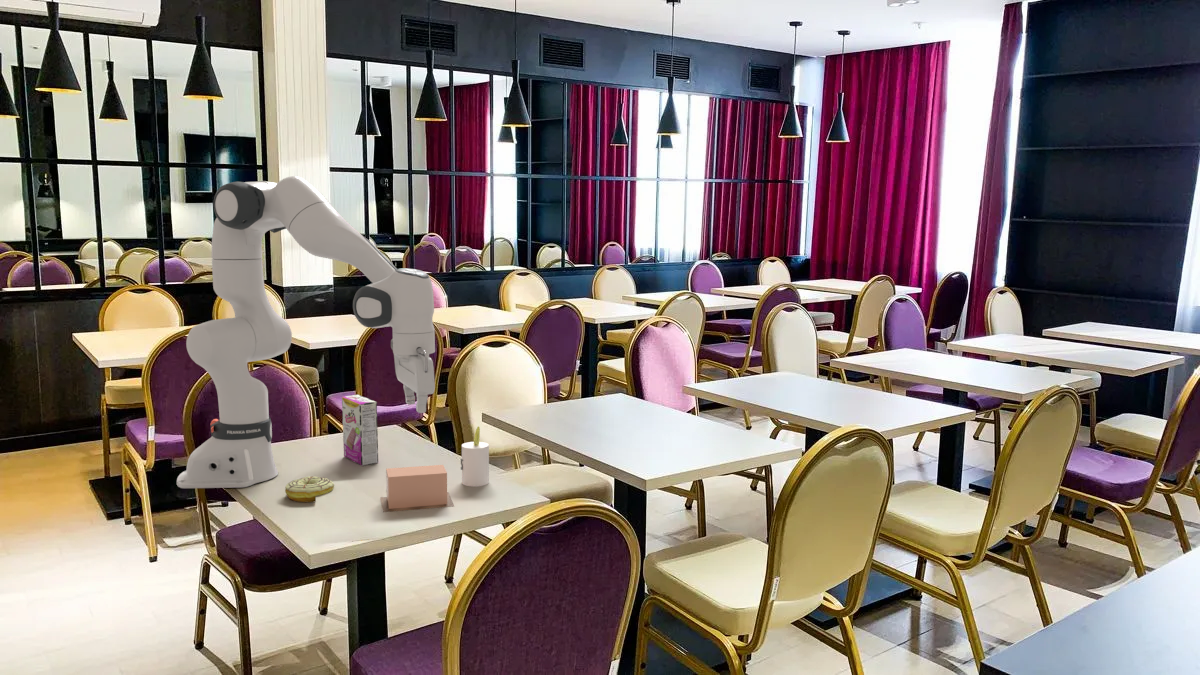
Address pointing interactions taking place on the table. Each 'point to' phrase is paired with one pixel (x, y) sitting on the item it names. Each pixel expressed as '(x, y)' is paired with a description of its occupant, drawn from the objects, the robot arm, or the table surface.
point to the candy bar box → (360, 429)
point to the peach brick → (416, 486)
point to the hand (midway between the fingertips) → (415, 408)
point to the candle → (475, 462)
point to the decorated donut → (308, 488)
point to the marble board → (386, 508)
